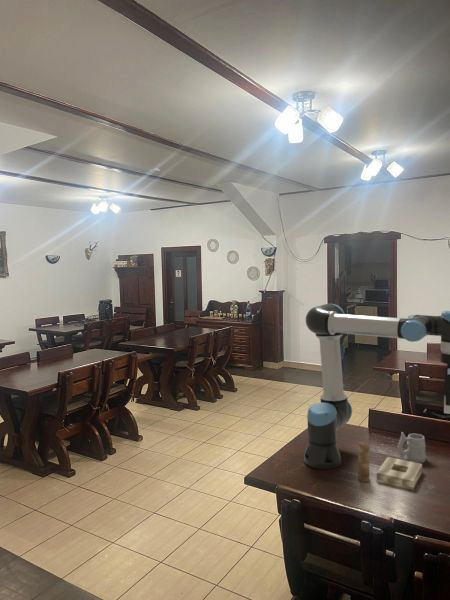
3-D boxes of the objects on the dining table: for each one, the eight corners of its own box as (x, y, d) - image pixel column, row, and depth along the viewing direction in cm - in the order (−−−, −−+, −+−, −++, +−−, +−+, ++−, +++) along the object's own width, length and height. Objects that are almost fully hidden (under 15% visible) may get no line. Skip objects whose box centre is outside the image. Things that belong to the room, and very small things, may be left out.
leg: (356, 480, 172) (356, 445, 171) (360, 476, 176) (359, 441, 174) (367, 483, 170) (367, 447, 169) (370, 478, 173) (370, 443, 172)
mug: (430, 462, 185) (430, 434, 184) (402, 464, 184) (402, 436, 183) (420, 454, 193) (420, 427, 192) (393, 456, 192) (393, 429, 191)
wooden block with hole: (376, 481, 171) (376, 472, 171) (387, 465, 184) (387, 456, 184) (413, 490, 164) (413, 481, 164) (422, 472, 177) (422, 463, 177)
